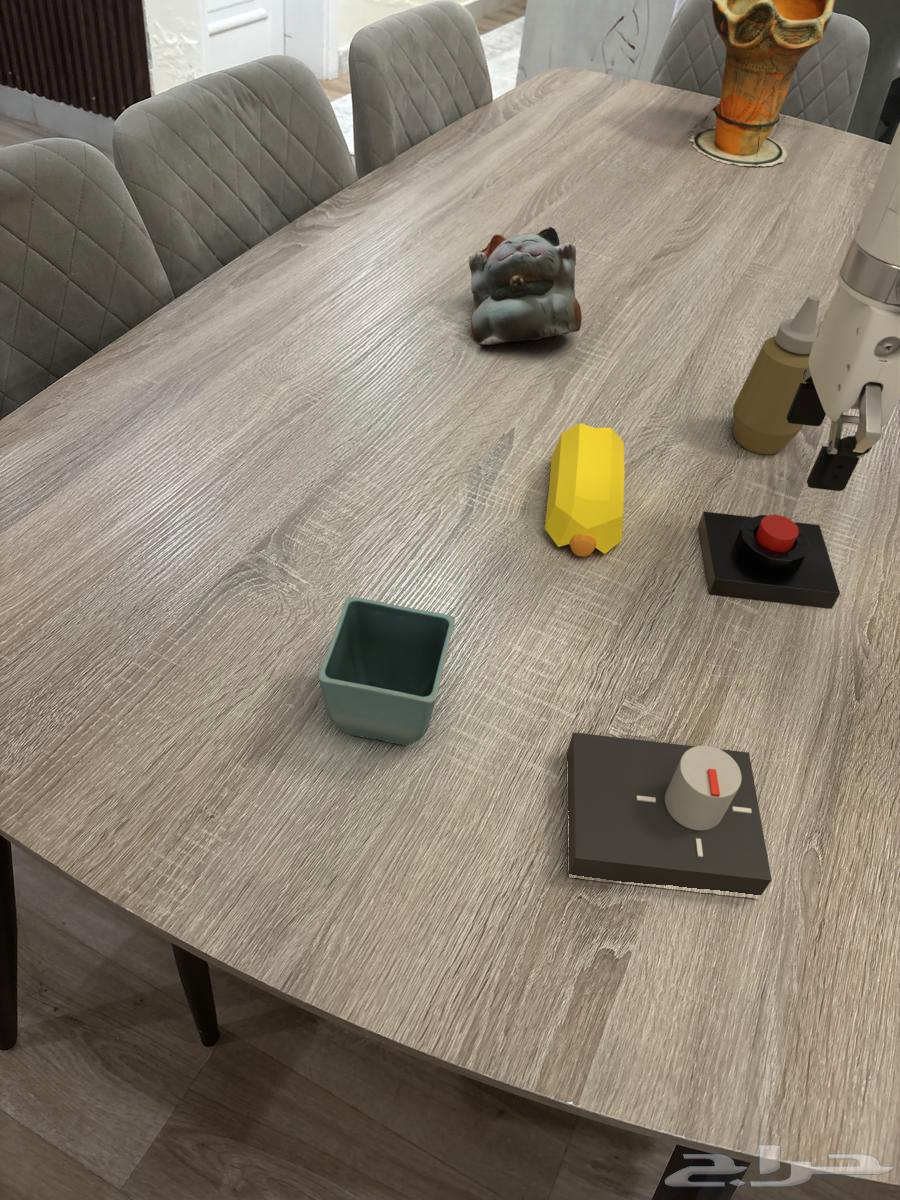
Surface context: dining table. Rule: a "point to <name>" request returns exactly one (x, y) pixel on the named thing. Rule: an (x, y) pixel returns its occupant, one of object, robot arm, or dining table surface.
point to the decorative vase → (758, 74)
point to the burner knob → (702, 787)
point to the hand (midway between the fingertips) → (813, 453)
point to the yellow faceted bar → (586, 490)
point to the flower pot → (384, 669)
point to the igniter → (765, 563)
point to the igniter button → (777, 533)
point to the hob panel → (656, 820)
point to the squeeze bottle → (775, 384)
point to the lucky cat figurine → (524, 288)
